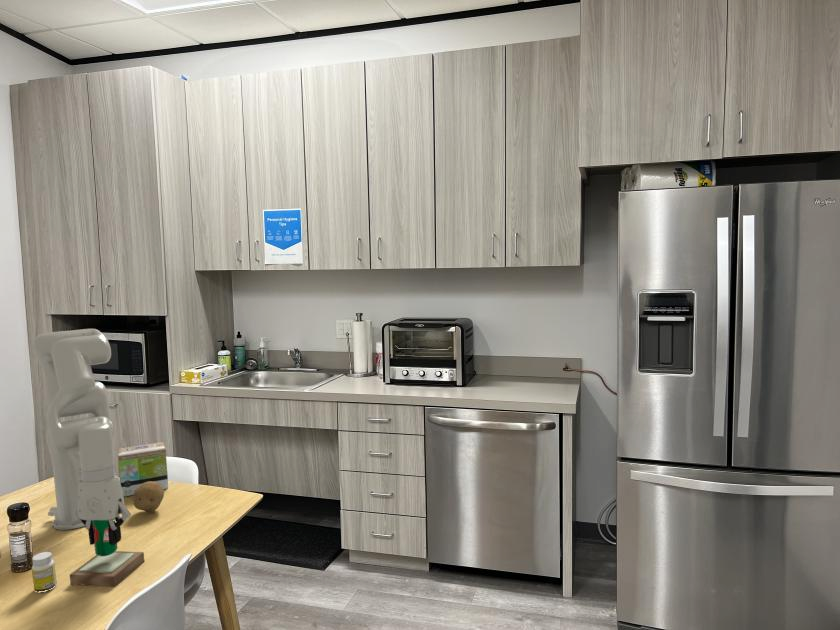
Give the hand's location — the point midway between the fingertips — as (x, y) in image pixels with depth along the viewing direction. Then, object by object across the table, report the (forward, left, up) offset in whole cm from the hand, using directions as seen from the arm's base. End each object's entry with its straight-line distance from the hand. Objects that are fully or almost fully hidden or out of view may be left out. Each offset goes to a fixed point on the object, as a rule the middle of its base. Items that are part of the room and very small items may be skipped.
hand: (105, 541), depth 152 cm
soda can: (0, 0, -3) cm, 3 cm away
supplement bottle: (-11, -8, -9) cm, 16 cm away
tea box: (-25, +54, -9) cm, 60 cm away
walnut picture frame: (0, 0, -8) cm, 8 cm away
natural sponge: (-11, +35, -9) cm, 38 cm away
